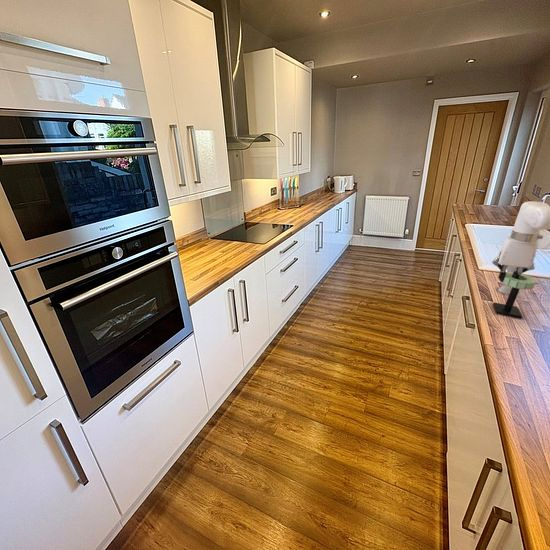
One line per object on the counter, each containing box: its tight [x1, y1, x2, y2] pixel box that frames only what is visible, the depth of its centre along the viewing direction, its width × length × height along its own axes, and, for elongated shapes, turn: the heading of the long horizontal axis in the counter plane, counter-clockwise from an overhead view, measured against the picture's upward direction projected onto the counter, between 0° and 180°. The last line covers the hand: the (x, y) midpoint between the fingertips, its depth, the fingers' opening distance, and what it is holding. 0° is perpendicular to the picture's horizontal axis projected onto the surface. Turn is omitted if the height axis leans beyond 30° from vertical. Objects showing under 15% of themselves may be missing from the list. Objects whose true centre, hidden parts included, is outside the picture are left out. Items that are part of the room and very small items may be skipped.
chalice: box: [497, 266, 517, 295], centre depth 129 cm, size 7×7×18 cm
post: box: [492, 287, 523, 319], centre depth 115 cm, size 8×8×13 cm
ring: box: [502, 271, 537, 290], centre depth 112 cm, size 10×10×3 cm
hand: (506, 281), depth 113 cm, fingers closed on ring, 3 cm apart
